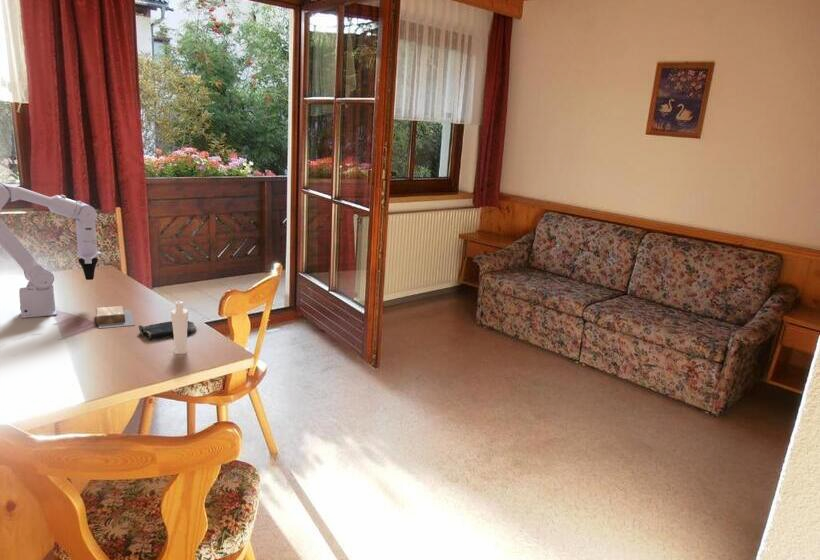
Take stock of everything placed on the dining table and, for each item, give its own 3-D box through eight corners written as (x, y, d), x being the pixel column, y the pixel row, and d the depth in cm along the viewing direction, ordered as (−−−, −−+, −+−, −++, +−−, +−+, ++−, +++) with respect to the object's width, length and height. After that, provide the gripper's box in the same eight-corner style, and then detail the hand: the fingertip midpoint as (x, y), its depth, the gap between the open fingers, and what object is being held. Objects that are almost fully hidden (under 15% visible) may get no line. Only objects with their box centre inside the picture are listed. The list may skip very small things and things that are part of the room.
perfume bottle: (179, 356, 162) (177, 305, 158) (169, 352, 164) (167, 302, 160) (192, 351, 166) (191, 302, 162) (183, 347, 168) (181, 298, 164)
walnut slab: (96, 316, 179) (124, 314, 182) (95, 307, 186) (123, 305, 190) (96, 324, 179) (125, 322, 183) (96, 315, 187) (123, 313, 191)
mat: (99, 328, 177) (99, 328, 177) (97, 312, 190) (97, 311, 190) (134, 325, 181) (134, 324, 181) (131, 309, 195) (131, 309, 195)
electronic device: (151, 348, 170) (201, 332, 179) (146, 330, 168) (197, 315, 178) (141, 342, 177) (189, 326, 186) (136, 325, 175) (185, 310, 185)
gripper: (101, 244, 186) (103, 284, 189) (99, 235, 198) (102, 273, 201) (76, 245, 182) (79, 285, 186) (76, 235, 194) (79, 274, 198)
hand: (89, 279), depth 193 cm, fingers closed
